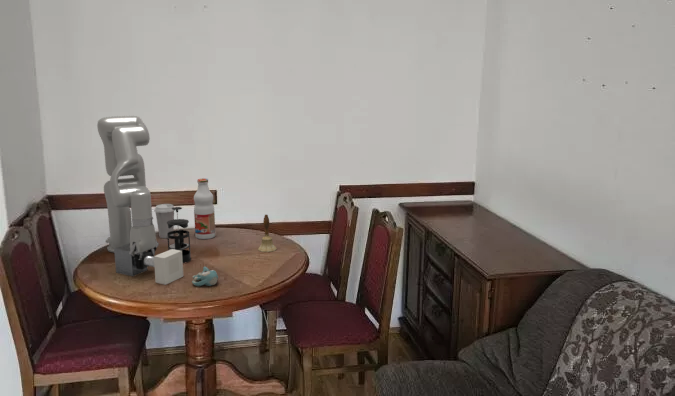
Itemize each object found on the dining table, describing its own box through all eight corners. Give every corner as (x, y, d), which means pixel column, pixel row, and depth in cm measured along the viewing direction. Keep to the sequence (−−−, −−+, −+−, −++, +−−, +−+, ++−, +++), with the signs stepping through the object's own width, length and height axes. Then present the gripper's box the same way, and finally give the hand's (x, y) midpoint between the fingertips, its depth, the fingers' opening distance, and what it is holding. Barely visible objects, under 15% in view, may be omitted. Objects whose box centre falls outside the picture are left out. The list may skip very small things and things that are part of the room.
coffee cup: (173, 239, 286) (171, 208, 283) (153, 239, 287) (151, 208, 283) (179, 233, 296) (177, 203, 292) (159, 233, 296) (157, 203, 293)
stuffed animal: (204, 262, 239) (224, 263, 231) (207, 280, 239) (227, 281, 232) (181, 269, 230) (201, 270, 223) (185, 288, 231) (204, 289, 224)
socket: (155, 282, 232) (153, 256, 229) (173, 274, 240) (171, 249, 238) (165, 284, 230) (164, 258, 227) (183, 276, 238) (181, 250, 236)
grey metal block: (116, 272, 242) (114, 248, 240) (130, 266, 249) (129, 243, 247) (133, 276, 238) (131, 252, 236) (147, 270, 245) (146, 246, 243)
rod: (117, 263, 243) (116, 251, 241) (126, 259, 247) (125, 247, 246) (153, 270, 234) (152, 258, 233) (162, 266, 239) (162, 254, 238)
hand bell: (254, 250, 270) (253, 216, 266) (263, 245, 277) (262, 211, 274) (271, 253, 267) (270, 218, 263) (279, 247, 274) (279, 213, 271)
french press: (189, 264, 252) (186, 210, 247) (166, 264, 252) (162, 210, 246) (193, 255, 264) (190, 203, 259) (171, 255, 263) (168, 204, 258)
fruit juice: (218, 237, 290) (216, 179, 284) (200, 240, 284) (197, 182, 278) (210, 232, 297) (207, 176, 291) (192, 236, 292) (189, 178, 285)
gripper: (150, 216, 244) (153, 259, 249) (118, 226, 230) (122, 271, 234) (165, 218, 241) (167, 261, 245) (133, 228, 226) (136, 274, 230)
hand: (145, 266), depth 239 cm, fingers closed on rod, 5 cm apart
